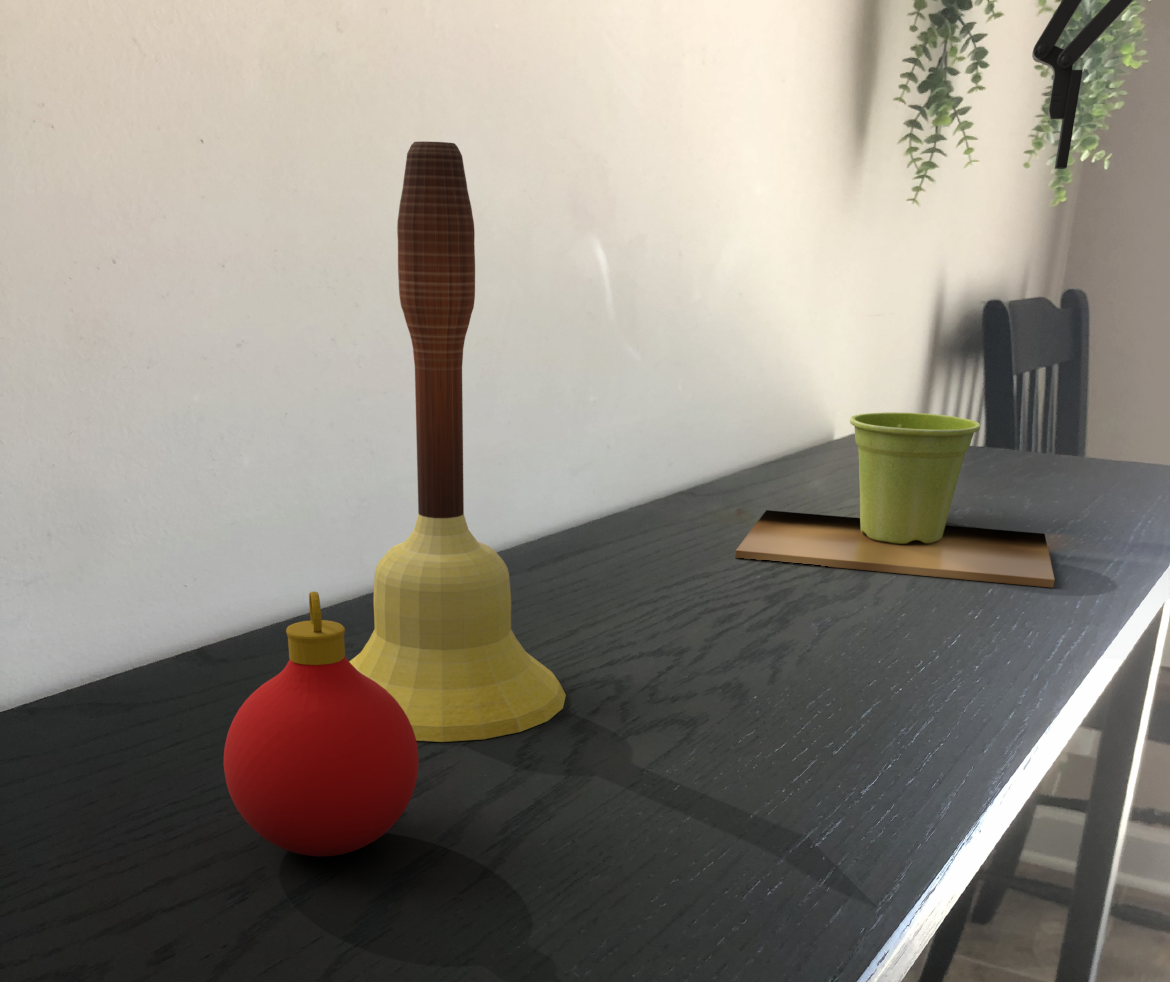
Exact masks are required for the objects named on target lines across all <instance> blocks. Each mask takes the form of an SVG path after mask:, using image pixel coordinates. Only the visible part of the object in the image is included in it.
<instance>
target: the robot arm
mask: <svg viewBox="0 0 1170 982" xmlns="http://www.w3.org/2000/svg"><path fill="white" fill-rule="evenodd" d="M1082 1H1083V0H1061V1H1060V3H1059V5H1058V7H1057V8H1056V10H1055V11H1054V13H1053V15H1052V16H1051V18H1050V20H1049V22H1048V23H1047V24H1046V27H1044V30H1043V31H1042V33H1041V35H1040V36H1039V38H1038V39H1037V41H1036V43H1035V44H1034V47H1033V49H1032V53H1031V57H1032V59H1033V61H1034V62H1035V63H1039V64H1042V65H1044V66H1047V67H1049V69H1051V71H1052V73H1053V78H1052V85H1051V90H1050V91H1051V92H1050V96H1049V103H1048V111H1047V114H1048V117H1049V120H1062V121H1061V126H1060V133H1059V140H1058V146H1057V150H1056V151H1057V152H1056V157H1055V164H1054V170H1065V169H1067V168H1068V162H1069V158H1070V157H1069V156H1070V151H1071V144H1072V138H1073V132H1074V126H1075V119H1076V113H1077V107H1078V102H1079V95H1080V91H1081V90H1080V88H1081V83H1082V77H1083V72H1084V71H1083V69H1074V65H1075V64H1076V63H1077V62H1078V61H1079V60H1080V59H1081V58H1082V56H1083V55H1084V54H1085V53H1086V52H1087V51H1088V50H1089V49H1090V48H1091V47H1092V46H1093V45H1094V44H1095V43H1096V41H1097V40H1098V39H1099V38H1100V37H1101V36H1102V35H1103V34H1104V33H1105V32H1107V30H1108V29H1109V27H1110V26H1112V24H1113V23H1114V22H1116V20H1118V18H1119V17H1120V16H1121V15H1122V14H1123V13H1124V12H1125V11H1126V10H1127V8H1128V7H1130V5H1132V3H1133V2H1134V1H1135V0H1109V1H1108V2H1107V3H1105V5H1104V6H1103V7H1102V8H1101V9H1100V10H1099V11H1098V12H1097V13H1096V14H1095V15H1094V17H1093V18H1091V20H1090V21H1089V22H1088V23H1087V24H1086V25H1085V26H1084V27H1083V28H1082V29H1081V31H1079V32H1078V34H1077V35H1076V36H1075V37H1074V38H1073V39H1072V40H1071V41H1070V42H1069V43H1068V44H1067V45H1066V47H1065V48H1062V47H1060V46H1057V45H1056V44H1057V43H1058V41H1059V39H1060V38H1061V36H1062V34H1063V33H1064V31H1065V30H1066V28H1067V26H1068V25H1069V23H1070V21H1071V20H1072V18H1073V17H1074V15H1075V13H1076V11H1077V10H1078V8H1079V6H1080V5H1081V3H1082Z"/></svg>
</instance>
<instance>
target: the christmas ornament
mask: <svg viewBox="0 0 1170 982" xmlns="http://www.w3.org/2000/svg"><path fill="white" fill-rule="evenodd" d="M308 600H309V601H308V602H309V618H310V620H301V621H298V622H295V623H291V624H290V625H288V626H287V627H286V630H285V633H286V636H287V645H288V646H287V647H288V657H289V659H288V662H287V663H286V665H285V667H284V668H283V669H282V670H281V671H280V672H279V673H278V674H276V675H275V676H274V677H271V678H270V679H269V680H267V681H265V682H264V683H263V684H261V685H260V686H259V687H258V688H257V689H256V690H254V691H253V692H252V693H251V694H250V695H249V696H248V697H247V698H246V699H245V701H244V702H243V703H242V705H241V706H240V707H239V708H238V710H237V712H236V714H235V715H234V717H233V719H232V721H231V724H230V726H229V729H228V731H227V734H226V739H225V743H224V750H223V771H224V777H225V784H226V786H227V790H228V793H229V795H230V798H231V800H232V801H233V804H234V806H235V808H236V810H237V812H238V814H240V815H241V817H242V818H243V820H244V822H245V823H246V824H248V825H249V827H250V828H252V830H254V831H255V832H256V833H257V834H258V835H259V836H260V837H261V838H263V839H265V840H266V841H267V842H269V843H271V844H273V845H274V846H276V847H279V848H280V849H282V850H285V851H288V852H291V853H294V854H299V855H303V856H310V857H334V856H341V855H344V854H348V853H352V852H355V851H358V850H360V849H363V848H364V847H366V846H368V845H370V844H372V843H374V842H376V841H377V840H378V839H379V838H381V837H382V836H384V835H385V834H386V833H387V832H388V831H389V830H390V829H391V828H392V827H393V826H395V824H396V823H397V822H398V820H400V818H401V816H402V815H403V814H404V812H405V810H406V809H407V807H408V805H409V803H410V801H411V799H412V797H413V795H414V791H415V788H416V785H417V780H418V775H419V759H420V757H419V748H418V741H416V738H415V734H414V731H413V728H412V726H411V724H410V721H409V719H408V717H407V715H406V714H405V712H404V710H403V709H402V708H401V706H400V705H399V703H398V702H397V701H396V700H395V699H394V697H393V696H392V695H391V694H390V693H389V692H388V691H387V690H386V689H384V688H383V687H382V686H380V685H379V684H378V683H376V682H375V681H373V680H372V679H370V678H368V677H367V676H365V675H363V674H362V673H360V672H359V671H358V670H357V669H356V668H355V667H354V666H353V665H352V664H351V663H350V662H349V661H350V660H349V659H348V658H347V656H346V646H345V633H346V629H345V626H344V625H342V624H341V623H340V622H337V621H333V620H325V619H322V609H321V600H320V594H319V592H318V591H310V592H309V594H308Z"/></svg>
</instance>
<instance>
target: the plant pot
mask: <svg viewBox="0 0 1170 982" xmlns="http://www.w3.org/2000/svg"><path fill="white" fill-rule="evenodd" d="M849 423H850V424H851V426H854V441H855V442H854V443H855V444H856V445H857V452H858V453H857V454H858V476H859V479H858V480H859V481H858V482H859V516H860V517H859V518H860V525H861V533H863V534H867V536H868V537H869V538H871V539H873V540H876V541H885V542H891V543H895V544H906V543H909V542H910V541H913V540H919V541H921V542H923V543H933V542H935V541H938V540H940V539H941V538H942V536H943V532H944V528H945V525H947V521H948V517H949V513H950V510H951V506H952V502H953V499H954V496H955V491H956V488H957V483H958V481H959V477H960V473H961V470H962V465H963V462H964V458H965V455H966V453H967V452H968V450H969V449H970V447H971V444H972V440H973V437H974V434H975V433H977V432H978V431H980V429H981V424H980V423H979V422H978V421H975V420H973V419H970V418H969V419H968V418H964V417H958V416H952V415H945V414H936V413H921V412H899V411H898V412H896V411H895V412H892V411H890V412H867V413H860V414H854V415H852V416H851V417H850V419H849Z"/></svg>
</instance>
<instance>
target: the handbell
mask: <svg viewBox="0 0 1170 982" xmlns="http://www.w3.org/2000/svg"><path fill="white" fill-rule="evenodd" d="M471 203H472V202H471V199H470V193H469V189H468V183H467V177H466V170H465V166H464V159H463V154H462V152H461V150H460V148H459V146H458V145H457V144H456V143H454V142H445V141H414V142H412V143H411V145H410V147H409V149H408V151H407V153H406V160H405V167H404V175H403V183H402V189H401V194H400V199H399V206H398V215H397V222H396V223H397V224H396V225H397V226H396V232H397V233H396V234H397V275H398V279H397V280H398V296H399V302H400V307H401V309H402V313H403V317H404V321H405V324H406V327H407V331H408V332H409V333H408V334H409V337H410V340H411V345H412V354H413V362H414V364H413V365H414V389H415V390H414V392H415V394H414V395H415V397H414V398H415V433H416V434H415V435H416V437H415V438H416V472H417V474H416V475H417V504H418V505H417V512H418V514H417V517H416V520H415V524H414V528H413V530H412V532H411V533H410V534H409V536H408V537H407V538H406V540H405V541H403V542H400V543H398V544H395V545H393V546H392V547H390V549H389V550H388V551H387V552H386V553H385V554H384V555H383V556H382V558H381V559H380V560H379V561H378V562H377V565H376V566H375V570H374V574H373V575H374V576H373V577H374V578H373V583H374V584H373V600H372V601H373V619H374V622H373V623H374V629H373V631H372V633H371V635H370V637H369V639H368V640H367V642H366V644H365V645H364V647H363V648H362V649H361V651H360V652H359V653H358V654H356V656H355V657H353V658H352V659H350V660H348V661H349V662H350V663H351V664H352V665H353V666H354V667H355V668H356V669H357V670H358V671H359V672H360V673H362V674H363V675H365V676H367V677H368V678H370V679H372V680H373V681H375V682H376V683H378V684H379V685H380V686H382V687H383V688H384V689H386V690H387V691H388V692H389V693H390V694H391V695H392V696H393V697H394V699H395V700H396V701H397V702H398V703H399V705H400V706H401V708H402V709H403V710H404V712H405V714H406V715H407V717H408V719H409V721H410V724H411V726H412V728H413V731H414V734H415V738H416V742H436V743H446V742H447V743H449V742H459V741H460V742H462V741H476V740H477V741H478V740H479V741H480V740H487V739H493V738H496V737H502V736H506V735H511V734H516V733H521V732H523V731H527V730H528V729H531V728H534V727H536V726H538V725H541V724H543V723H547V722H548V721H550V720H551V719H552V718H553V717H554V716H555V715H557V714H558V713H559V712H561V711H562V710H563V709H564V705H565V700H566V697H567V694H566V692H565V691H564V689H563V687H562V685H561V683H560V681H559V680H558V679H557V677H556V675H555V674H554V673H553V671H551V670H550V669H549V668H548V667H546V666H545V665H544V664H542V663H541V662H540V661H539V660H538V659H535V658H534V657H533V656H532V655H531V654H529V652H527V651H526V650H525V649H524V647H523V646H522V644H521V643H520V641H519V640H518V638H517V637H516V636H515V634H514V632H513V629H512V594H511V593H512V592H511V580H510V572H509V569H508V568H509V567H508V566H507V564H506V562H505V561H504V560H503V558H502V557H501V556H500V555H499V553H497V551H496V550H495V549H493V548H492V547H491V546H489V545H488V544H485V543H484V542H480V541H478V540H477V539H476V538H475V536H474V535H473V533H472V532H471V531H470V530H469V527H468V523H467V520H466V517H465V516H466V515H465V508H464V507H465V506H464V505H465V500H464V495H465V494H464V421H463V420H464V419H463V417H464V414H463V413H464V412H463V405H464V404H463V403H464V401H463V360H464V347H465V340H466V336H467V333H468V329H469V326H470V322H471V317H472V314H473V311H474V308H475V300H476V299H475V298H476V253H475V251H476V250H475V246H476V245H475V235H476V234H475V233H476V232H475V222H474V216H473V209H472V208H473V207H472V204H471Z"/></svg>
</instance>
